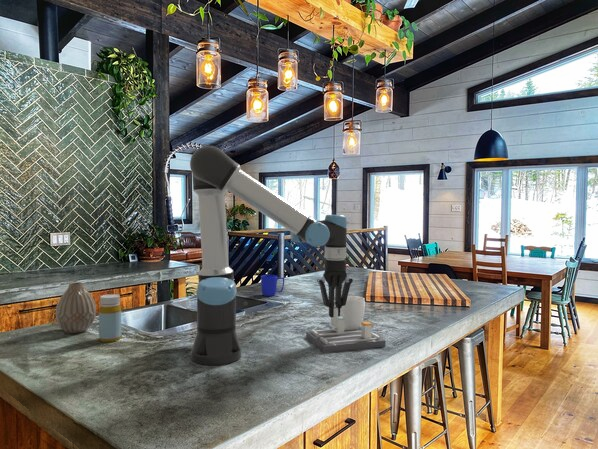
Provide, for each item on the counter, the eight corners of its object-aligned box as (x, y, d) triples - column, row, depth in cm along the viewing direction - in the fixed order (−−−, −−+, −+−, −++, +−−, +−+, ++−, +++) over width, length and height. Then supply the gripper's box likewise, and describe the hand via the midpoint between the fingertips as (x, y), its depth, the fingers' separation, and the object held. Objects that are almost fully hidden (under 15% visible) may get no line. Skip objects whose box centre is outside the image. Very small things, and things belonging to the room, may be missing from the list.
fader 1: (337, 332, 155) (338, 318, 155) (334, 330, 158) (334, 316, 157) (344, 332, 155) (344, 318, 155) (340, 329, 158) (340, 316, 158)
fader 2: (364, 338, 148) (365, 324, 148) (361, 336, 151) (361, 321, 151) (371, 338, 149) (371, 323, 149) (367, 335, 152) (367, 321, 151)
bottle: (116, 335, 157) (116, 293, 156) (124, 339, 152) (124, 296, 151) (96, 339, 152) (95, 295, 151) (104, 344, 147) (103, 299, 146)
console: (323, 352, 141) (324, 343, 141) (305, 336, 157) (306, 328, 157) (385, 346, 147) (385, 337, 147) (362, 331, 164) (362, 323, 164)
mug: (283, 297, 223) (284, 277, 223) (259, 296, 223) (260, 277, 223) (284, 293, 231) (284, 274, 231) (261, 293, 231) (261, 274, 231)
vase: (50, 330, 161) (49, 282, 160) (87, 323, 170) (87, 278, 170) (63, 338, 152) (63, 288, 151) (102, 330, 162) (101, 283, 161)
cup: (362, 334, 161) (362, 301, 160) (337, 331, 163) (338, 299, 163) (366, 327, 169) (366, 296, 169) (342, 325, 172) (343, 294, 171)
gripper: (321, 260, 149) (320, 330, 150) (357, 259, 153) (355, 327, 154) (314, 258, 156) (313, 324, 157) (348, 257, 160) (346, 321, 161)
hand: (334, 325), depth 156 cm, fingers closed
